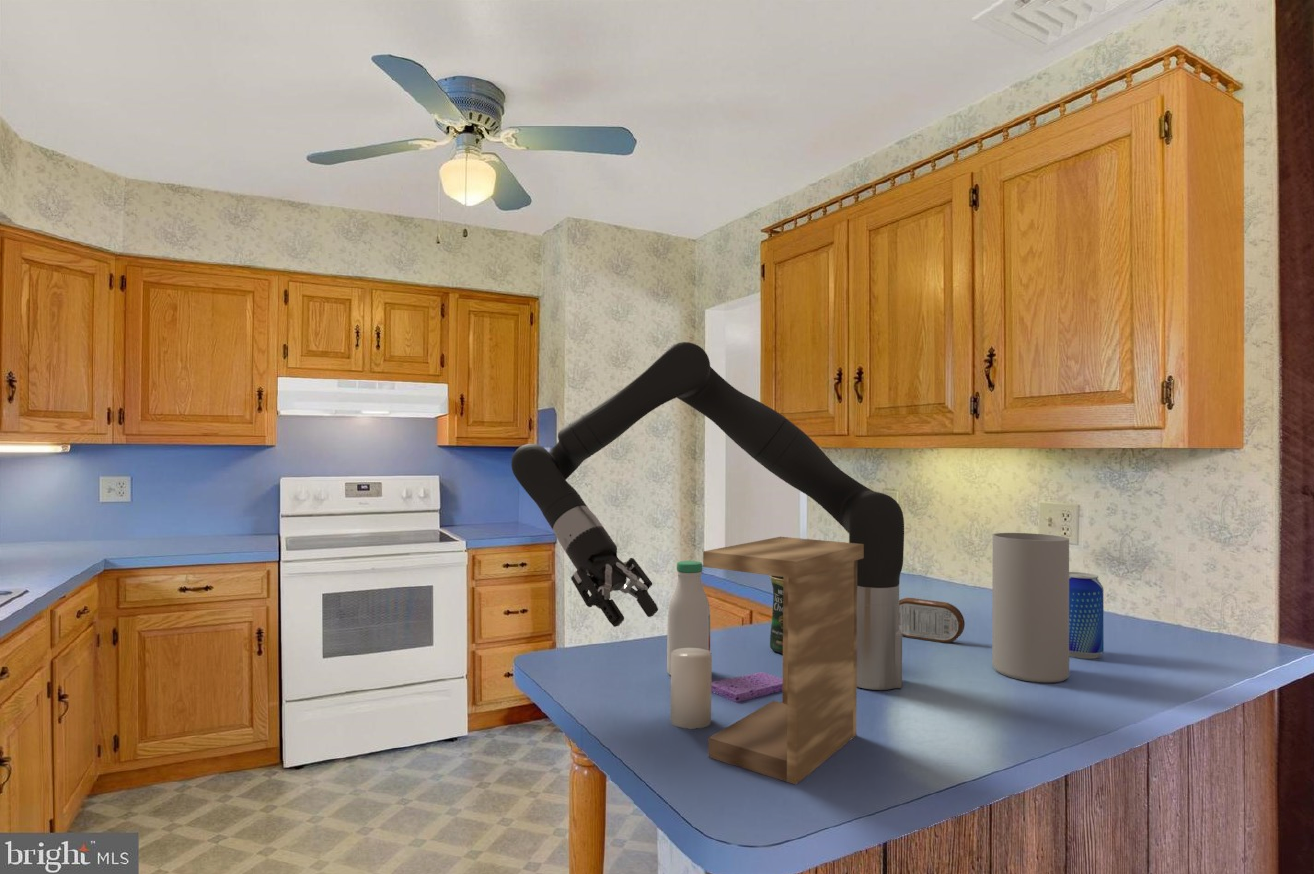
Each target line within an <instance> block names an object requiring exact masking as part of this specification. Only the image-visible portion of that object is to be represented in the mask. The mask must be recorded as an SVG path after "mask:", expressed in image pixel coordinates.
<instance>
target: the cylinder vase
mask: <svg viewBox="0 0 1314 874" xmlns="http://www.w3.org/2000/svg"><path fill="white" fill-rule="evenodd" d="M1069 572H1070V538H1068V537H1066V536H1059V535H1053V534H1043V533H1028V532H1027V533H1026V532H997V533H993V534H992V575H991V576H992V578H991V579H992V580H991V581H992V585H991V586H992V593H991V594H992V595H991V597H992V603H991V604H992V605H991V606H992V609H991V610H992V613H991V614H992V619H991V620H992V622H991V623H992V627H991V628H992V631H991V632H992V635H991V636H992V637H991V639H992V641H991V644H992V646H991V649H992V650H991V651H992V653H991V655H992V656H991V660H992V664H991V665H992V667H993V669H994V670H995V671H996V672H998V673H999V674H1001V675H1003V676H1006V677H1009V678H1012V679H1016V680H1019V681H1025V682H1031V683H1040V684H1041V683H1042V684H1043V683H1044V684H1050V683H1051V684H1052V683H1053V684H1054V683H1060V682H1064V681H1065V680H1067V679H1068V678H1069V676H1070V656H1069Z"/></svg>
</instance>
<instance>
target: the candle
mask: <svg viewBox="0 0 1314 874" xmlns="http://www.w3.org/2000/svg"><path fill="white" fill-rule="evenodd" d="M712 657H713V655H712V652H711V650H710V651H708V650H705V649H700V648H680V649H676V650H673V651H672V652H671V675H670V723H671V724H672V725H673V726H675V727H677V728H681V729H686V728H689V730H693V728H698V729H702V728H701V727H703V728H706V727H709V726H710V725H711V722H712V692H711V682H712Z"/></svg>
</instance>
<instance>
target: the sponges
mask: <svg viewBox="0 0 1314 874" xmlns="http://www.w3.org/2000/svg"><path fill="white" fill-rule="evenodd" d="M713 692H715V693H718V694H719V695H718V694H717V695H718V696H720V695H722V696H724V697H726V698H725V699H727V698H728V699H727V700H729V699H730V700H729V701H731V700H732V701H731V702H734V701H735V702H734V703H739V702H742V700H743V701H746V700H751V699H755V698H759V697H761V696H762V697H763V696H766V695H770V693H771V694H774V692H775V693H778V692H783V678H782V677H781V678H780V677H777V676H774V675H772V674H768V673H766V672H764V671H760V672H756V673H750V674H746V675H743V676H736V677H733V678H725V679H721V680H714V681H711V693H713ZM715 693H714V694H715ZM722 696H721V697H722ZM758 696H759V697H758ZM724 697H723V698H724Z"/></svg>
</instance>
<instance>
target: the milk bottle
mask: <svg viewBox="0 0 1314 874" xmlns="http://www.w3.org/2000/svg"><path fill="white" fill-rule="evenodd" d="M676 575H677V581H676V585H675V588H674V591H673V592H672V594H671V597H670V599H669V603H668V608H667V609H668V611H667V631H666V632H667V639H666V640H667V643H666V657H667V658H666V670H667V673H668V675H670V676H671V652H672V651H673V650H676V649H680V648H700V649H705V650H708V651H710V652H711V610H710V603H709V599H708V596H707V594H706V592H705V589H704V586H703V583H702V575H703V562H700V561H698V560H679V561H677V562H676Z"/></svg>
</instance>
